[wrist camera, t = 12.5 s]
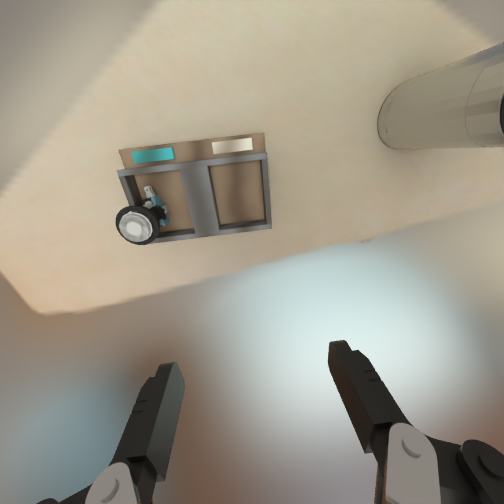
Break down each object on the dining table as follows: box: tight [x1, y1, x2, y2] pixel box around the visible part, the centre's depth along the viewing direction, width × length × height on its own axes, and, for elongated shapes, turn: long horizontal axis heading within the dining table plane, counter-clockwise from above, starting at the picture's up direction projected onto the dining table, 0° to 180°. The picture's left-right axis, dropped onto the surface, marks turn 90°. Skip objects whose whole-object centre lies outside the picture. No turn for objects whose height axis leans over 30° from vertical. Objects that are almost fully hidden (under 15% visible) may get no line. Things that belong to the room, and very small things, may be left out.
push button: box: [116, 186, 170, 245], centre depth 30 cm, size 7×5×10 cm
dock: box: [117, 133, 272, 244], centre depth 34 cm, size 22×15×4 cm
